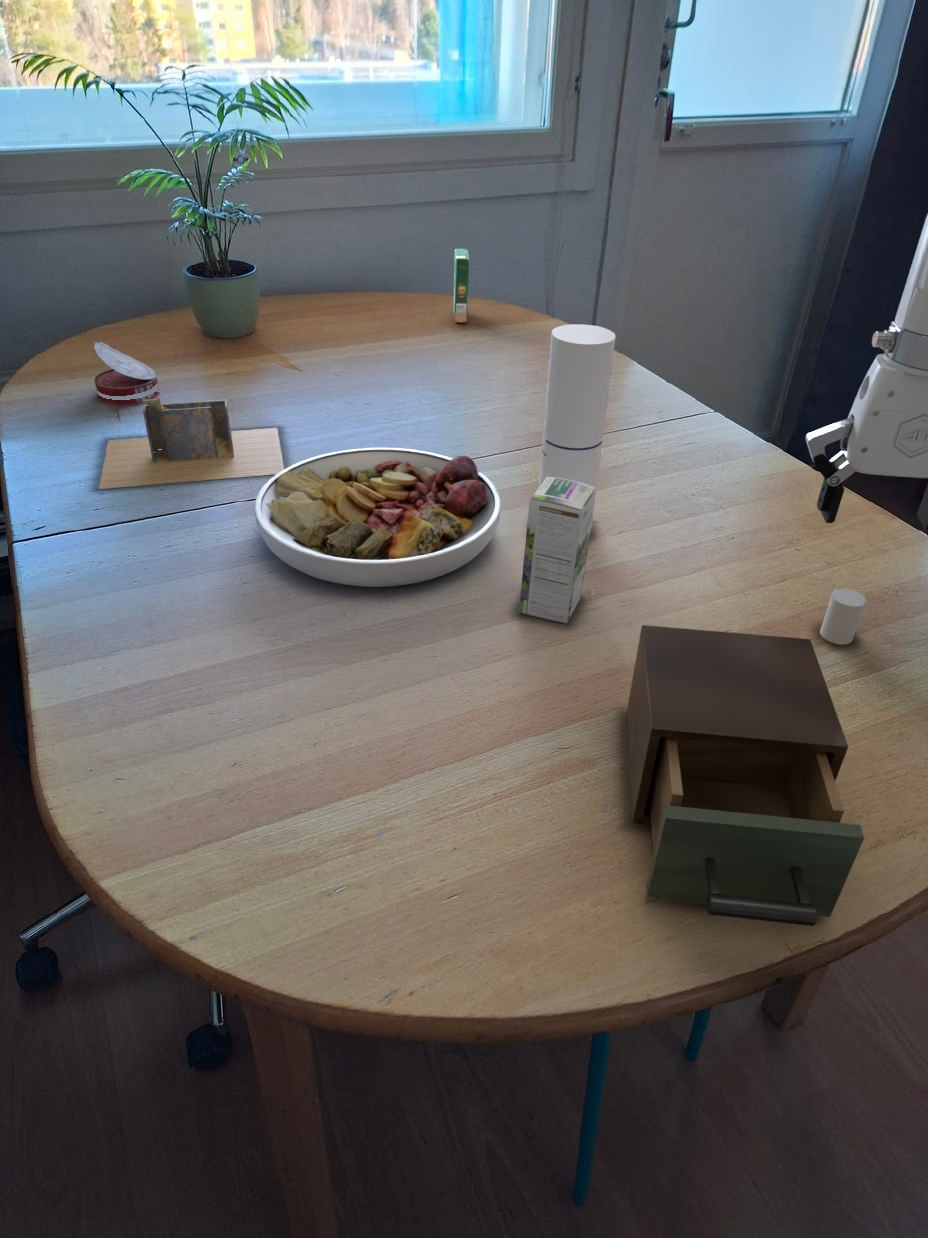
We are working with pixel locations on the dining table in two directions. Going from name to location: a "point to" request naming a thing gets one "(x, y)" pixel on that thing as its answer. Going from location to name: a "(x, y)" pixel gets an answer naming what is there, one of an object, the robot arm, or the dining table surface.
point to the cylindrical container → (576, 402)
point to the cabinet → (725, 698)
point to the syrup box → (556, 548)
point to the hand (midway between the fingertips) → (875, 520)
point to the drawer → (748, 831)
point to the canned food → (123, 377)
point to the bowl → (378, 515)
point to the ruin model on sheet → (190, 448)
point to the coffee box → (461, 280)
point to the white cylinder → (842, 616)
